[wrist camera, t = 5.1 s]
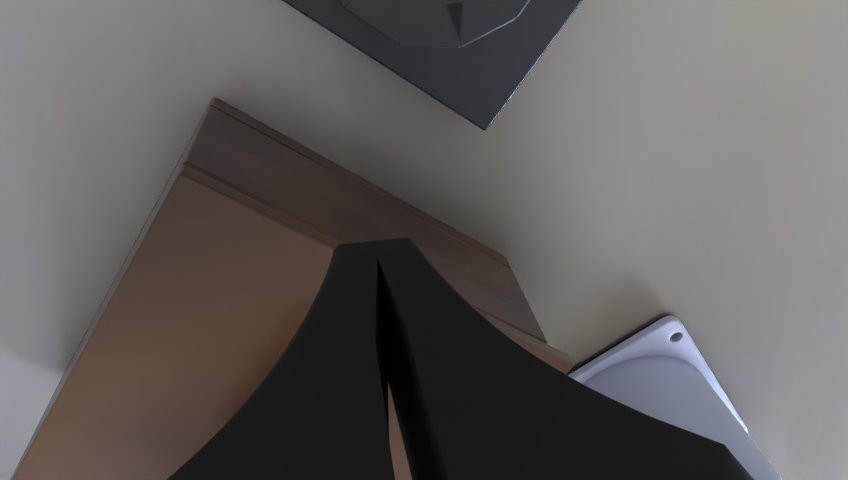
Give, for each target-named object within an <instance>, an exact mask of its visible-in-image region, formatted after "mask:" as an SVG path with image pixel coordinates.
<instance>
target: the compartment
mask: <svg viewBox="0 0 848 480" xmlns="http://www.w3.org/2000/svg"><path fill="white" fill-rule="evenodd" d="M182 165H187V166H189V167H191V168H193V169H195V170H197V171H199V172H201V173H203V174H205V175H207V176H209V177H211V178H213V179H215V180H217V181H219V182H221V183H223V184H225V185H227V186H229V187H231V188H233V189H235V190H237V191H239V192H241V193H243V194H245V195H247V196H249V197H251V198H253V199H255V200H257V201H260V202H262V203H264V204H266V205H268V206H270V207H272V208H274V209H276V210H278V211H280V212H282V213H284V214H286V215H288V216H290V217H292V218H294V219H296V220H298V221H300V222H302V223H304V224H306V225H308V226H310V227H312V228H314V229H316V230H318V231H320V232H322V233H324V234H326V235H328V236H330V237H332V238H334V239H336V240H338V241H340V242H342V243H344V244H347V243H356V242H366V241H376V240H385V239H395V238H405V237H409V238H410V239H412V240H413V241H414V242H415V243H416V245H417V246H418V247H419V249H420V250H421V251H422V253H423V254H424V255H425V256H426V258H427V259H428V260H429V261H430V262H431V264H432V265H433V266H434V267H435V268H436V269H437V271H438V272H439V273H440V274H441V275H442V276H443V277H444V278H445V279H446V281H447V282H448V283H449V284H450V285H451V286H452V287H453V288H454V289H455V290H456V291H457V292H458V293H459V294H460V295H461V296H462V297H463V298H464V299H465V300H466V301H467V302H468V303H469V304H470V305H471V306H473V307H474V308H475V309H477V310H479V311H481V312H483V313H485V314H487V315H489V316H491V317H493V318H495V319H497V320H499V321H501V322H503V323H505V324H507V325H509V326H511V327H513V328H515V329H517V330H519V331H521V332H523V333H525V334H527V335H529V336H531V337H533V338H535V339H537V340H539V341H541V342H543V343H545V344H547V341H546V339H545V337H544V335H543V333H542V331H541V329H540V327H539V325H538V323H537V321H536V319H535V317H534V314H533V312H532V310H531V308H530V306H529V304H528V302H527V300H526V298H525V296H524V294H523V292H522V290H521V288H520V286H519V284H518V282H517V280H516V278H515V276H514V274H513V272H512V270H511V268H510V266H509V263H508V261H507V259H506V258H505V257H503V256H501V255H500V254H498V253H496V252H494V251H492V250H491V249H489V248H487V247H485V246H483V245H481V244H480V243H478V242H476V241H474V240H472V239H471V238H469V237H467V236H465V235H463V234H462V233H460V232H458V231H456V230H454V229H452V228H451V227H449V226H447V225H445V224H443V223H442V222H440V221H438V220H436V219H434V218H433V217H431V216H429V215H427V214H425V213H423V212H422V211H420V210H418V209H416V208H414V207H413V206H411V205H409V204H407V203H405V202H403V201H402V200H400V199H398V198H396V197H394V196H393V195H391V194H389V193H387V192H385V191H384V190H382V189H380V188H378V187H376V186H374V185H373V184H371V183H369V182H367V181H365V180H364V179H362V178H360V177H358V176H356V175H354V174H353V173H351V172H349V171H347V170H345V169H344V168H342V167H340V166H338V165H336V164H335V163H333V162H331V161H329V160H327V159H325V158H324V157H322V156H320V155H318V154H316V153H315V152H313V151H311V150H309V149H307V148H305V147H304V146H302V145H300V144H298V143H296V142H295V141H293V140H291V139H289V138H287V137H286V136H284V135H282V134H280V133H278V132H276V131H275V130H273V129H271V128H269V127H267V126H266V125H264V124H262V123H260V122H258V121H257V120H255V119H253V118H251V117H249V116H247V115H246V114H244V113H242V112H240V111H238V110H237V109H235V108H233V107H231V106H229V105H227V104H226V103H224V102H222V101H220V100H218V99H217V98H213V99H212V101H211V103H210V104H209V106H208V108H207V110H206V112H205V114H204V116H203V117H202V119H201V121H200V123H199V125H198V127H197V128H196V130H195V132H194V134H193V136H192V138H191V140H190V141H189V143H188V145H187V147H186V149H185V151H184V153H183V154H182V156H181V158H180V160H179V162H178V164H177V166H176V167H175V169H174V171H173V173H172V175H171V177H170V178H169V180H168V182H167V184H166V186H165V188H164V190H163V191H162V193H161V195H160V197H159V199H158V201H157V203H156V204H155V206H154V208H153V210H152V212H151V214H150V215H149V217H148V219H147V221H146V223H145V225H144V227H143V228H142V230H141V232H140V234H139V236H138V238H137V240H136V241H135V243H134V245H133V247H132V249H131V251H130V252H129V254H128V256H127V258H126V260H125V262H124V264H123V265H122V267H121V269H120V271H119V273H118V275H117V277H116V278H115V280H114V282H113V284H112V286H111V288H110V289H109V291H108V293H107V295H106V297H105V299H104V301H103V302H102V304H101V306H100V308H99V310H98V312H97V314H96V315H95V317H94V319H93V321H92V323H91V325H90V326H89V328H88V330H87V332H86V334H85V336H84V338H83V339H82V341H81V343H80V345H79V347H78V349H77V351H76V352H75V354H74V356H73V358H72V360H71V362H70V363H69V365H68V367H67V369H66V371H65V373H64V375H63V376H62V378H61V380H60V382H59V384H58V386H57V388H56V390H55V392H54V394H53V396H52V398H51V400H50V402H49V404H48V406H47V408H46V410H45V412H44V414H43V416H42V418H41V420H40V422H39V424H38V426H37V428H36V430H35V432H34V434H33V436H32V438H31V440H30V442H29V444H28V446H27V448H26V450H25V452H24V454H23V456H24V455H25V453H26V451H27V449H28V447H29V445H30V444H31V442H32V440H33V438H34V436H35V434H36V433H37V431H38V429H39V427H40V425H41V423H42V422H43V420H44V418H45V416H46V414H47V412H48V411H49V409H50V407H51V405H52V403H53V401H54V399H55V398H56V396H57V394H58V392H59V390H60V388H61V387H62V385H63V383H64V381H65V379H66V377H67V376H68V374H69V372H70V370H71V368H72V366H73V365H74V363H75V361H76V359H77V357H78V355H79V354H80V352H81V350H82V348H83V346H84V344H85V343H86V341H87V339H88V337H89V335H90V333H91V331H92V330H93V328H94V326H95V324H96V322H97V320H98V319H99V317H100V315H101V313H102V311H103V309H104V308H105V306H106V304H107V302H108V300H109V298H110V297H111V295H112V293H113V291H114V289H115V287H116V286H117V284H118V282H119V280H120V278H121V276H122V275H123V273H124V271H125V269H126V267H127V265H128V263H129V262H130V260H131V258H132V256H133V254H134V252H135V251H136V249H137V247H138V245H139V243H140V241H141V240H142V238H143V236H144V234H145V232H146V230H147V229H148V227H149V225H150V223H151V221H152V219H153V218H154V216H155V214H156V212H157V210H158V208H159V207H160V205H161V203H162V201H163V199H164V197H165V195H166V194H167V192H168V190H169V188H170V186H171V184H172V183H173V181H174V179H175V177H176V175H177V173H178V172H179V170H180V168H181V166H182ZM23 456H22V458H23ZM22 458H21V459H20V461H19V463H18V465H17V467H18V466H19V464H20V462H21V460H22ZM17 467H16V469H17ZM16 469H15V471H16ZM15 471H14V473H15ZM14 473H13V475H14ZM13 475H12V477H13ZM12 477H11V479H12ZM11 479H10V480H11Z"/></svg>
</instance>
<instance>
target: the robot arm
mask: <svg viewBox="0 0 848 480" xmlns="http://www.w3.org/2000/svg"><path fill="white" fill-rule="evenodd" d="M676 332H677V333H676ZM674 333H676V334H674ZM673 334H674V335H673ZM671 335H673V336H671ZM388 383H389V387H390V391H391V395H392V399H393V403H394V408H395V412H396V416H397V420H398V424H399V428H400V432H401V436H402V440H403V444H404V448H405V452H406V456H407V461H408V465H409V469H410V473H411V477H412V480H783V479H782V477H781V476H780V475H779V473H778V472H777V471H776V469H775V468H774V467H773V466H772V464H771V463H770V462H769V460H768V459H767V458H766V456H765V455H764V454H763V453H762V451H761V450H760V449H759V447H758V446H757V445H756V443H755V442H754V441H753V439H752V438H751V437H750V436H749V434H748V429H747V428H746V426H745V424H744V423H743V421H742V419H741V418H740V416H739V415H738V413H737V411H736V410H735V408H734V407H733V405H732V403H731V402H730V400H729V398H728V397H727V395H726V394H725V392H724V390H723V389H722V387H721V386H720V384H719V382H718V381H717V379H716V377H715V376H714V374H713V373H712V371H711V369H710V368H709V366H708V365H707V363H706V361H705V360H704V358H703V356H702V355H701V353H700V352H699V350H698V348H697V347H696V345H695V344H694V342H693V340H692V339H691V337H690V335H689V334H688V332H687V331H686V329H685V327H684V326H683V324H682V323H681V321H680V320H679V319H678V318H677V317H676V316H673V315H670V316H666V317H663V318H662V319H660V320H658V321H657V322H655V323H653V324H652V325H650V326H648V327H647V328H645V329H643V330H642V331H640V332H638V333H637V334H635V335H633V336H632V337H630V338H629V339H627V340H625V341H624V342H622V343H620V344H619V345H617V346H615V347H614V348H612V349H610V350H609V351H607V352H605V353H604V354H602V355H600V356H599V357H597V358H596V359H594V360H592V361H591V362H589V363H587V364H586V365H584V366H582V367H581V368H579V369H577V370H576V371H574V372H572V373H571V374H569V375H566V374H564V373H562V372H561V371H559V370H557V369H556V368H554V367H552V366H550V365H549V364H547V363H546V362H544V361H542V360H541V359H539V358H538V357H536V356H534V355H533V354H531V353H530V352H529V351H527V350H526V349H524V348H523V347H522V346H520V345H519V344H517V343H516V342H514V341H513V340H512V339H510V338H509V337H508V336H506V335H505V334H504V333H503V332H501V331H500V330H499V329H498V328H496V327H495V326H494V325H493V324H492V323H491V322H489V321H488V320H487V319H486V318H485V317H484V316H483V315H481V314H480V313H479V312H478V311H477V310H476V309H475V308H474V307H473V306H471V305H470V304H469V303H468V302H467V301H466V300H465V299H464V298H463V297H462V296H461V295H460V294H459V293H458V292H457V291H456V290H455V289H454V288H453V287H452V286H451V285H450V284H449V283H448V282H447V281H446V279H445V278H444V277H443V276H442V275H441V274H440V273H439V272H438V271H437V269H436V268H435V267H434V266H433V265H432V264H431V262H430V261H429V260H428V259H427V258H426V256H425V255H424V254H423V253H422V251H421V250H420V249H419V247H418V246H417V245H416V243H415V242H414V241H413V240H412V239H410V238H409V237H405V238H395V239H385V240H376V241H366V242H356V243H347V244H339V245H338V246H337V247H336V248H335V249H334V250H333V255H332V259H331V262H330V265H329V268H328V271H327V273H326V276H325V278H324V280H323V283H322V285H321V287H320V289H319V291H318V293H317V295H316V297H315V299H314V301H313V303H312V305H311V307H310V309H309V311H308V313H307V315H306V317H305V318H304V320H303V322H302V323H301V325H300V327H299V328H298V330H297V332H296V333H295V335H294V337H293V338H292V340H291V341H290V343H289V345H288V346H287V348H286V349H285V351H284V352H283V354H282V355H281V357H280V358H279V360H278V361H277V362H276V364H275V365H274V367H273V368H272V369H271V371H270V372H269V373H268V375H267V376H266V377H265V378H264V380H263V381H262V382H261V384H260V385H259V386H258V387H257V389H256V390H255V391H254V392H253V393H252V395H251V396H250V397H249V398H248V399H247V400H246V401H245V403H244V404H243V405H242V406H241V407H240V408H239V410H238V411H237V412H236V413H235V414H234V415H233V416H232V418H231V419H230V420H229V421H228V422H227V423H226V424H225V425H224V426H223V427H222V428H221V429H220V430H219V431H218V432H217V433H216V434H215V435H214V436H213V437H212V438H211V439H210V440H209V441H208V442H207V443H206V444H205V445H204V446H203V447H202V448H201V449H200V450H199V451H197V452H196V453H195V454H194V455H193V456H192V457H191V458H190V459H189V460H188V461H187V462H186V463H185V464H184V465H183V466H181V467H180V468H179V469H178V470H177V471H176V472H175V473H174V474H172V475H171V476H170V477H169V478H168V479H166V480H395V475H394V469H393V462H392V456H391V449H390V442H389V400H388Z"/></svg>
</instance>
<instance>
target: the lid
mask: <svg viewBox="0 0 848 480" xmlns="http://www.w3.org/2000/svg"><path fill="white" fill-rule="evenodd" d="M339 244H344V243H342V242H340V241H338V240H336V239H334V238H332V237H330V236H328V235H326V234H324V233H322V232H320V231H318V230H316V229H314V228H312V227H310V226H308V225H306V224H304V223H302V222H300V221H298V220H296V219H294V218H292V217H290V216H288V215H286V214H284V213H282V212H280V211H278V210H276V209H274V208H272V207H270V206H268V205H266V204H264V203H262V202H260V201H257V200H255V199H253V198H251V197H249V196H247V195H245V194H243V193H241V192H239V191H237V190H235V189H233V188H231V187H229V186H227V185H225V184H223V183H221V182H219V181H217V180H215V179H213V178H211V177H209V176H207V175H205V174H203V173H201V172H199V171H197V170H195V169H193V168H191V167H189V166H187V165H182V166H181V168H180V170H179V172H178V173H177V175H176V177H175V179H174V181H173V183H172V184H171V186H170V188H169V190H168V192H167V194H166V195H165V197H164V199H163V201H162V203H161V205H160V207H159V208H158V210H157V212H156V214H155V216H154V218H153V219H152V221H151V223H150V225H149V227H148V229H147V230H146V232H145V234H144V236H143V238H142V240H141V241H140V243H139V245H138V247H137V249H136V251H135V252H134V254H133V256H132V258H131V260H130V262H129V263H128V265H127V267H126V269H125V271H124V273H123V275H122V276H121V278H120V280H119V282H118V284H117V286H116V287H115V289H114V291H113V293H112V295H111V297H110V298H109V300H108V302H107V304H106V306H105V308H104V309H103V311H102V313H101V315H100V317H99V319H98V320H97V322H96V324H95V326H94V328H93V330H92V331H91V333H90V335H89V337H88V339H87V341H86V343H85V344H84V346H83V348H82V350H81V352H80V354H79V355H78V357H77V359H76V361H75V363H74V365H73V366H72V368H71V370H70V372H69V374H68V376H67V377H66V379H65V381H64V383H63V385H62V387H61V388H60V390H59V392H58V394H57V396H56V398H55V399H54V401H53V403H52V405H51V407H50V409H49V411H48V412H47V414H46V416H45V418H44V420H43V422H42V423H41V425H40V427H39V429H38V431H37V433H36V434H35V436H34V438H33V440H32V442H31V444H30V445H29V447H28V449H27V451H26V453H25V455H24V456H23V458H22V460H21V462H20V464H19V466H18V467H17V469H16V471H15V473H14V475H13V477H12V479H11V480H166V479H168V478H169V477H170V476H171V475H172V474H174V473H175V472H176V471H177V470H178V469H179V468H180V467H181V466H183V465H184V464H185V463H186V462H187V461H188V460H189V459H190V458H191V457H192V456H193V455H194V454H195V453H196V452H197V451H199V450H200V449H201V448H202V447H203V446H204V445H205V444H206V443H207V442H208V441H209V440H210V439H211V438H212V437H213V436H214V435H215V434H216V433H217V432H218V431H219V430H220V429H221V428H222V427H223V426H224V425H225V424H226V423H227V422H228V421H229V420H230V419H231V418H232V416H233V415H234V414H235V413H236V412H237V411H238V410H239V408H240V407H241V406H242V405H243V404H244V403H245V401H246V400H247V399H248V398H249V397H250V396H251V395H252V393H253V392H254V391H255V390H256V389H257V387H258V386H259V385H260V384H261V382H262V381H263V380H264V378H265V377H266V376H267V375H268V373H269V372H270V371H271V369H272V368H273V367H274V365H275V364H276V362H277V361H278V360H279V358H280V357H281V355H282V354H283V352H284V351H285V349H286V348H287V346H288V345H289V343H290V341H291V340H292V338H293V337H294V335H295V333H296V332H297V330H298V328H299V327H300V325H301V323H302V322H303V320H304V318H305V317H306V315H307V313H308V311H309V309H310V307H311V305H312V303H313V301H314V299H315V297H316V295H317V293H318V291H319V289H320V287H321V285H322V283H323V280H324V278H325V276H326V273H327V271H328V268H329V265H330V262H331V259H332V255H333V250H334V249H335V248H336V247H337V246H338V245H339ZM476 310H477V309H476ZM477 311H478V312H479V313H480V314H481V315H483V316H484V317H485V318H486V319H487V320H488V321H489V322H491V323H492V324H493V325H494V326H495V327H496V328H498V329H499V330H500V331H501V332H503V333H504V334H505V335H506V336H508V337H509V338H510V339H512V340H513V341H514V342H516V343H517V344H519V345H520V346H522V347H523V348H524V349H526V350H527V351H529V352H530V353H531V354H533V355H534V356H536V357H538V358H539V359H541V360H542V361H544V362H546V363H547V364H549V365H550V366H552V367H554V368H556V369H557V370H559V371H561V372H562V373H564V374H567V373H568V372H569V371H570V370H571V369H572V368H573V364H572V362H571V360H570V358H569V356H568V355H567V354H566V353H564V352H562V351H560V350H558V349H556V348H554V347H552V346H549V345H547V344H545V343H543V342H541V341H539V340H537V339H535V338H533V337H531V336H529V335H527V334H525V333H523V332H521V331H519V330H517V329H515V328H513V327H511V326H509V325H507V324H505V323H503V322H501V321H499V320H497V319H495V318H493V317H491V316H489V315H487V314H485V313H483V312H481V311H479V310H477ZM388 400H389V442H390V449H391V456H392V462H393V469H394V475H395V480H412V477H411V473H410V469H409V465H408V461H407V456H406V452H405V448H404V444H403V440H402V436H401V432H400V428H399V424H398V420H397V416H396V412H395V408H394V403H393V399H392V395H391V391H390V387H389V383H388Z"/></svg>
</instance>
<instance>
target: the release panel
mask: <svg viewBox="0 0 848 480" xmlns="http://www.w3.org/2000/svg"><path fill="white" fill-rule="evenodd" d="M282 1H284V2H286V3H287V4H289V5H290V6H292V7H293V8H295V9H296V10H298V11H300V12H301V13H303V14H304V15H306V16H307V17H309V18H310V19H312V20H313V21H315V22H317V23H318V24H320V25H321V26H323V27H324V28H326V29H327V30H329V31H331V32H332V33H334V34H335V35H337V36H338V37H340V38H341V39H343V40H344V41H346V42H348V43H349V44H351V45H352V46H354V47H355V48H357V49H358V50H360V51H362V52H363V53H365V54H366V55H368V56H369V57H371V58H372V59H374V60H376V61H377V62H379V63H380V64H382V65H383V66H385V67H386V68H388V69H389V70H391V71H393V72H394V73H396V74H397V75H399V76H400V77H402V78H403V79H405V80H407V81H408V82H410V83H411V84H413V85H414V86H416V87H417V88H419V89H420V90H422V91H424V92H425V93H427V94H428V95H430V96H431V97H433V98H434V99H436V100H438V101H439V102H441V103H442V104H444V105H445V106H447V107H448V108H450V109H451V110H453V111H455V112H456V113H458V114H459V115H461V116H462V117H464V118H465V119H467V120H469V121H470V122H472V123H473V124H475V125H476V126H478V127H479V128H481V129H482V130H487V129H488V128H489V126H490V125H491V124H492V122H493V121H494V119H495V118H496V117H497V115H498V114H499V113H500V111H501V110H502V109H503V107H504V106H505V105H506V103H507V102H508V101H509V99H510V98H511V96H512V95H513V94H514V92H515V91H516V90H517V88H518V87H519V86H520V84H521V83H522V82H523V80H524V79H525V78H526V76H527V75H528V73H529V72H530V71H531V69H532V68H533V67H534V65H535V64H536V63H537V61H538V60H539V59H540V57H541V56H542V55H543V53H544V52H545V50H546V49H547V48H548V46H549V45H550V44H551V42H552V41H553V40H554V38H555V37H556V36H557V34H558V33H559V32H560V30H561V29H562V27H563V26H564V25H565V23H566V22H567V21H568V19H569V18H570V17H571V15H572V14H573V13H574V11H575V10H576V9H577V7H578V6H579V4H580V3H581V2H582V0H282Z"/></svg>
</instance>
